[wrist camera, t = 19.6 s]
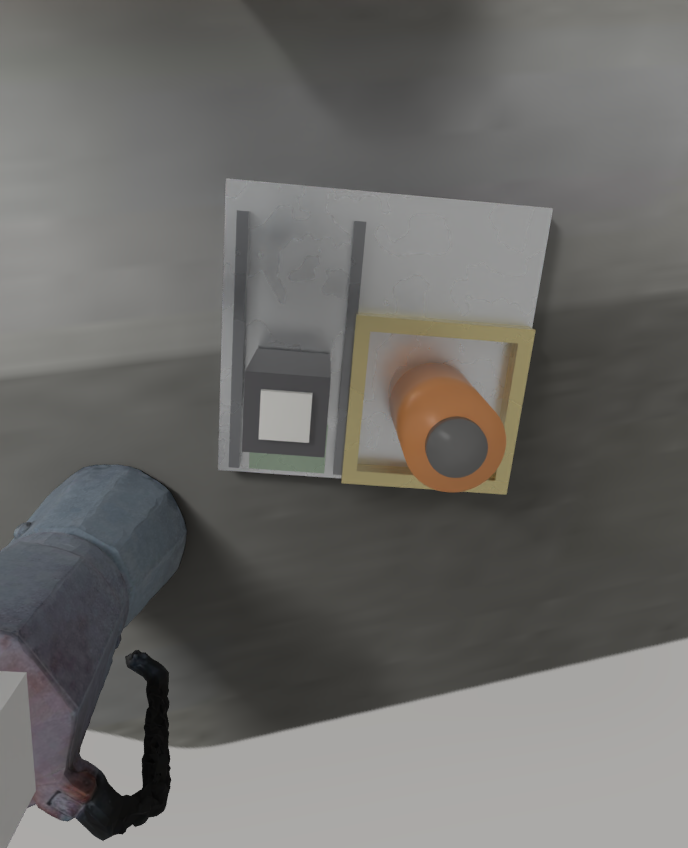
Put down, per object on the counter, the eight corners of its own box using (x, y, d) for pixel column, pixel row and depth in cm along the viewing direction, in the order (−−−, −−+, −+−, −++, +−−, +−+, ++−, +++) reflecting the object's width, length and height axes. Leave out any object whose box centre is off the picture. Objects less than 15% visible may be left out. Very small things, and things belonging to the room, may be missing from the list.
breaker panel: (230, 180, 34) (221, 176, 31) (543, 208, 35) (561, 207, 32) (222, 460, 39) (214, 477, 36) (497, 479, 39) (509, 497, 37)
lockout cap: (394, 359, 35) (411, 394, 28) (479, 366, 36) (517, 402, 28) (385, 440, 37) (399, 494, 30) (466, 446, 37) (500, 500, 30)
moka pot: (44, 401, 37) (-252, 591, 18) (268, 530, 40) (216, 810, 21) (-24, 525, 40) (-350, 808, 21) (193, 639, 42) (85, 979, 23)
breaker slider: (257, 348, 35) (244, 372, 29) (330, 354, 35) (330, 379, 29) (254, 418, 36) (241, 454, 30) (324, 423, 36) (324, 459, 31)
